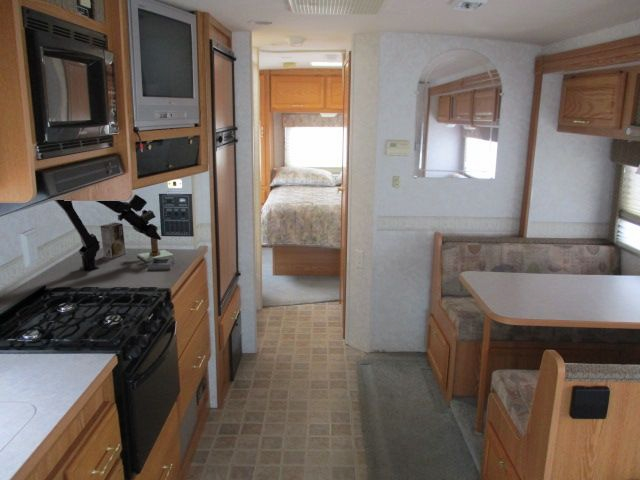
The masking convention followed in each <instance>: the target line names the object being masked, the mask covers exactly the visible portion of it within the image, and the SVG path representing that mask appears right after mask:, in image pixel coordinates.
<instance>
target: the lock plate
mask: <svg viewBox="0 0 640 480" xmlns="http://www.w3.org/2000/svg"><path fill="white" fill-rule="evenodd" d="M175 261H176V260H175V256H174V257H171V258H153V259H152V260H151V261H149V263H148V265H147V268H148V269H147V270H148V271H170V270H171V269H172V268H173V266H174V264H175Z"/></svg>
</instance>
